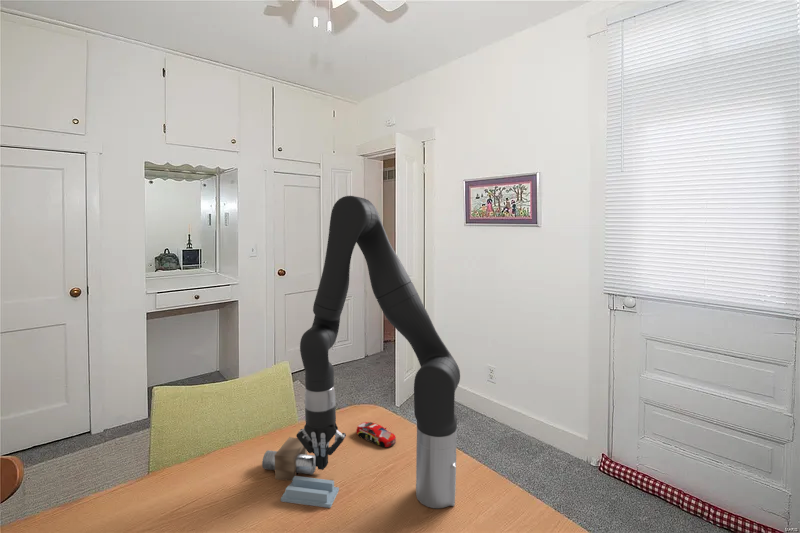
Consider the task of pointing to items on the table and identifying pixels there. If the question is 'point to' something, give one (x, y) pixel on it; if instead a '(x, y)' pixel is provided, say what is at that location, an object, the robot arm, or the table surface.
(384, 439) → the race car
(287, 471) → the brown bridge block
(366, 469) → the table surface
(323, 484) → the cradle
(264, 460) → the axle
